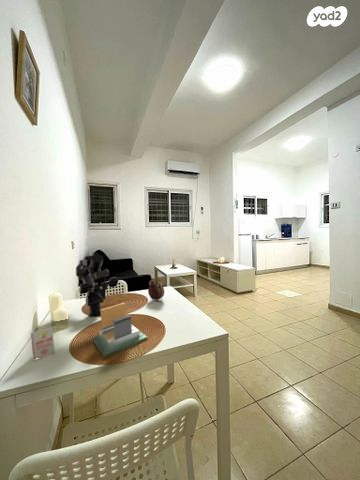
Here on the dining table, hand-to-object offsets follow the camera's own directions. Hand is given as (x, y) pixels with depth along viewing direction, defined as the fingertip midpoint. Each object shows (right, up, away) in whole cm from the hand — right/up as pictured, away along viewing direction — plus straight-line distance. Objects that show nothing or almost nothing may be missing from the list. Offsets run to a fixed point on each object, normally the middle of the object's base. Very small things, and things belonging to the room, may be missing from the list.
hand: (104, 299), depth 98 cm
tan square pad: (+8, -9, -9) cm, 15 cm away
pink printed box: (-16, -16, -21) cm, 30 cm away
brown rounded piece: (+22, -11, +32) cm, 40 cm away
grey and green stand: (+12, -14, -13) cm, 22 cm away
